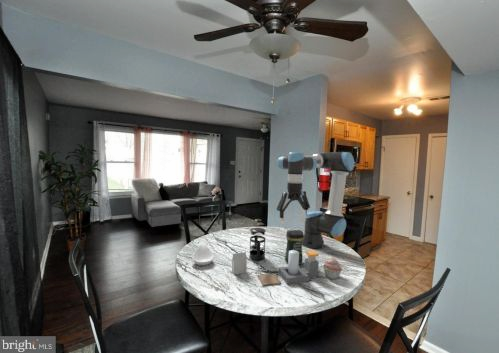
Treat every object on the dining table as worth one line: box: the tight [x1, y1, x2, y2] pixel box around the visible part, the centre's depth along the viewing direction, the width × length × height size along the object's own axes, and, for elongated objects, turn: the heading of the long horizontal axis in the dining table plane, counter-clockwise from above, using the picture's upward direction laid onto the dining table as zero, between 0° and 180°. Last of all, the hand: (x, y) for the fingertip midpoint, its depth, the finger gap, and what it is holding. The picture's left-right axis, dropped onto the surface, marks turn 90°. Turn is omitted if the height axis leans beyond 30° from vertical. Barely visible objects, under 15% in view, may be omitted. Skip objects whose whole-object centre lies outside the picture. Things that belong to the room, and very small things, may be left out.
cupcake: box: [322, 256, 343, 280], centre depth 117 cm, size 9×9×10 cm
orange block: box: [305, 250, 319, 262], centre depth 117 cm, size 5×5×6 cm
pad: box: [257, 273, 282, 287], centre depth 112 cm, size 9×9×1 cm
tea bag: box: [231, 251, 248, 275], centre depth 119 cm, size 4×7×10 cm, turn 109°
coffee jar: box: [284, 229, 304, 265], centre depth 132 cm, size 10×8×19 cm
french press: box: [249, 218, 266, 262], centre depth 137 cm, size 12×9×23 cm
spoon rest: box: [191, 242, 215, 266], centre depth 134 cm, size 24×12×7 cm, turn 15°
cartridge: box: [287, 250, 300, 275], centre depth 115 cm, size 5×5×13 cm
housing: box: [278, 257, 320, 285], centre depth 116 cm, size 18×11×8 cm, turn 104°
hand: (293, 222), depth 121 cm, fingers open, 13 cm apart
